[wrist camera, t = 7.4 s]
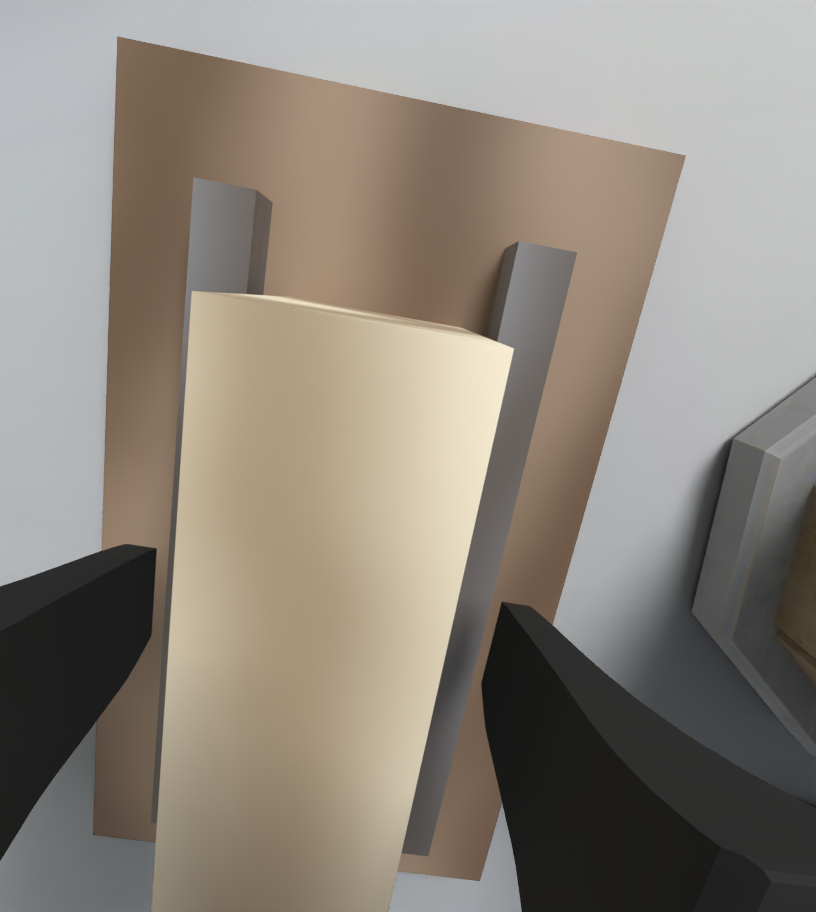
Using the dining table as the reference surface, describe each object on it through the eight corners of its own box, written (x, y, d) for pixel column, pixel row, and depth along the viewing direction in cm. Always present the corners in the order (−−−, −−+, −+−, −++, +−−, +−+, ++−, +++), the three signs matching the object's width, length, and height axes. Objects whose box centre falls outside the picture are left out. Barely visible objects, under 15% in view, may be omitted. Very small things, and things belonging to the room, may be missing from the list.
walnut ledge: (659, 168, 13) (723, 136, 10) (474, 844, 18) (486, 930, 16) (144, 62, 12) (78, -1, 10) (113, 799, 18) (65, 882, 15)
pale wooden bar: (462, 328, 13) (515, 349, 7) (380, 746, 16) (369, 1003, 10) (287, 296, 12) (189, 290, 7) (239, 728, 16) (144, 980, 10)
